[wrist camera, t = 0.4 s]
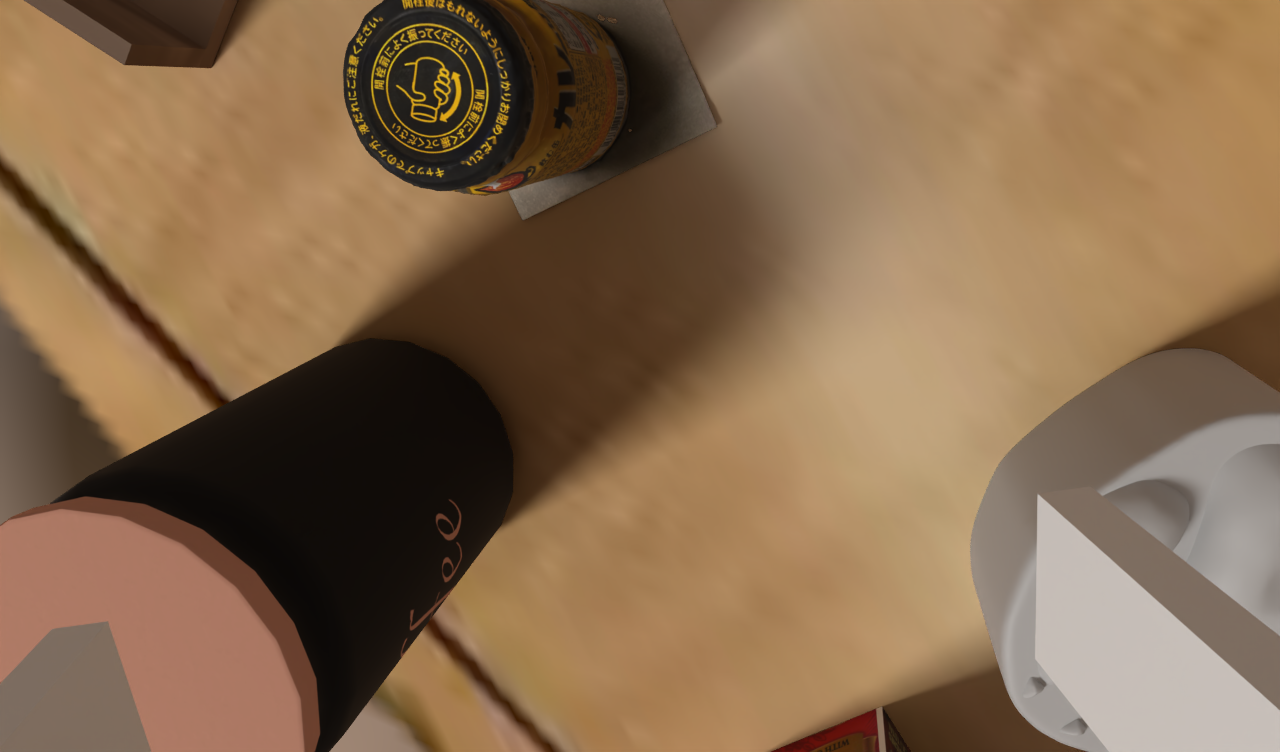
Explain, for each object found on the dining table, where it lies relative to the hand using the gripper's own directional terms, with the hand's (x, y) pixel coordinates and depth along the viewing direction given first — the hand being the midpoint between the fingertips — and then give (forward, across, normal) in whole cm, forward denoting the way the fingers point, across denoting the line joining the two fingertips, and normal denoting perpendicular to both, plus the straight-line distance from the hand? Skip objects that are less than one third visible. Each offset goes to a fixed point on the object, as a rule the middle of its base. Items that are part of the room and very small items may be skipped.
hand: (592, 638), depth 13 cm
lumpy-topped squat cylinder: (+20, +20, -11) cm, 30 cm away
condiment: (+26, +1, +7) cm, 27 cm away
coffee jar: (+28, -8, -7) cm, 30 cm away
